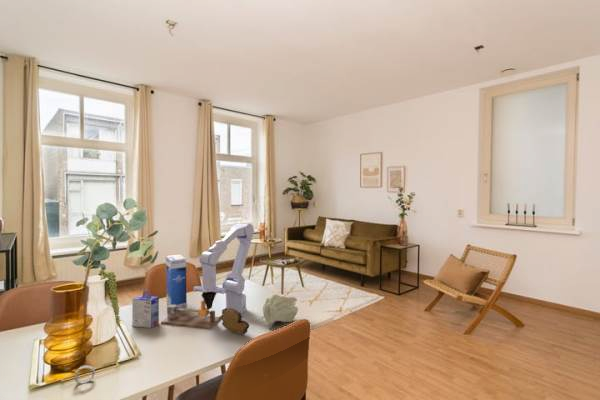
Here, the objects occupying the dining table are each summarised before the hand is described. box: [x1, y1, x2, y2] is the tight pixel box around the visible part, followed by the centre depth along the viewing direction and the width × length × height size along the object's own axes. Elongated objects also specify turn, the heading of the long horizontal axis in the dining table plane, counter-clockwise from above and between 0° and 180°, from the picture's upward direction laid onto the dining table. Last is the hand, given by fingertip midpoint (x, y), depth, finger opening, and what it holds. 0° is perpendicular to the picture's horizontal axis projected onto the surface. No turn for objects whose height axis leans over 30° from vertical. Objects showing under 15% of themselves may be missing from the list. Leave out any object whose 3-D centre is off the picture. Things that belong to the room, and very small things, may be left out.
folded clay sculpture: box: [262, 294, 299, 329], centre depth 137 cm, size 18×13×16 cm
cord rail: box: [160, 304, 221, 330], centre depth 138 cm, size 24×10×6 cm, turn 79°
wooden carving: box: [218, 307, 250, 336], centre depth 128 cm, size 16×5×10 cm, turn 59°
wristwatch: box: [74, 365, 96, 385], centre depth 95 cm, size 3×5×5 cm, turn 115°
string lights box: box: [165, 253, 188, 309], centre depth 155 cm, size 13×8×26 cm, turn 34°
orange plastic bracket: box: [197, 298, 210, 317], centre depth 137 cm, size 4×3×7 cm
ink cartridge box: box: [131, 290, 160, 329], centre depth 134 cm, size 10×6×14 cm, turn 78°
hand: (209, 308), depth 136 cm, fingers closed
